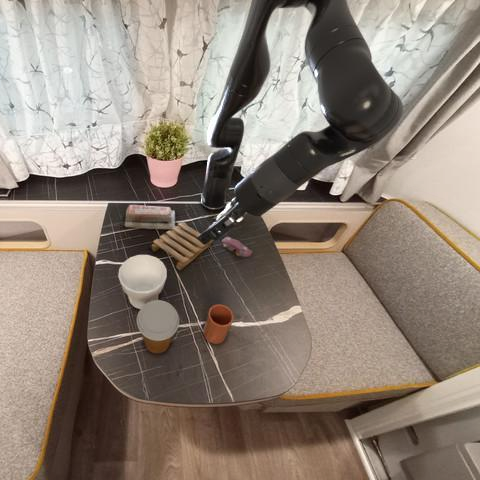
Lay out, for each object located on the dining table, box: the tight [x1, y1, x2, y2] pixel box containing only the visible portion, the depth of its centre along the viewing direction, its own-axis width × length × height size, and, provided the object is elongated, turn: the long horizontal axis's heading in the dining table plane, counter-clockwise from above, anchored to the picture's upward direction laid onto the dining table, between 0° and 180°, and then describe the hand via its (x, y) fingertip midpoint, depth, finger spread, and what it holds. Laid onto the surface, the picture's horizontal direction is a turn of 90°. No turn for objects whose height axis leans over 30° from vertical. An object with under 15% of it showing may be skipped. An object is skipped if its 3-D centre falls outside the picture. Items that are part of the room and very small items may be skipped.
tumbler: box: [202, 303, 235, 345], centre depth 67 cm, size 6×6×9 cm
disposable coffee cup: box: [136, 299, 180, 354], centre depth 64 cm, size 10×10×12 cm
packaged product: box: [124, 204, 176, 231], centre depth 99 cm, size 18×5×10 cm
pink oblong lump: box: [221, 236, 253, 258], centre depth 88 cm, size 10×5×7 cm, turn 47°
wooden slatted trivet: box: [151, 221, 213, 271], centre depth 90 cm, size 16×13×3 cm
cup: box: [117, 254, 168, 310], centre depth 73 cm, size 12×12×11 cm
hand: (208, 231), depth 60 cm, fingers open, 8 cm apart
